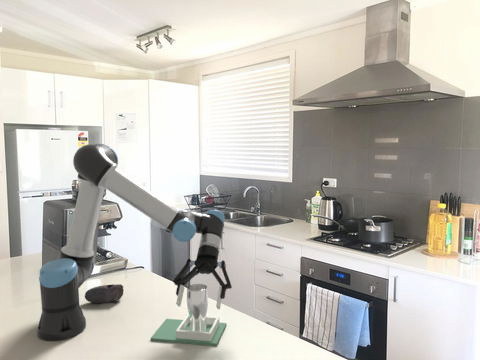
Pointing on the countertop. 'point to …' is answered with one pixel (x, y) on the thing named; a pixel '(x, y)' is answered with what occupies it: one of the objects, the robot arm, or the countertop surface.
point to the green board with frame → (189, 332)
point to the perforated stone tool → (104, 293)
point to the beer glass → (197, 307)
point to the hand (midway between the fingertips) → (197, 306)
